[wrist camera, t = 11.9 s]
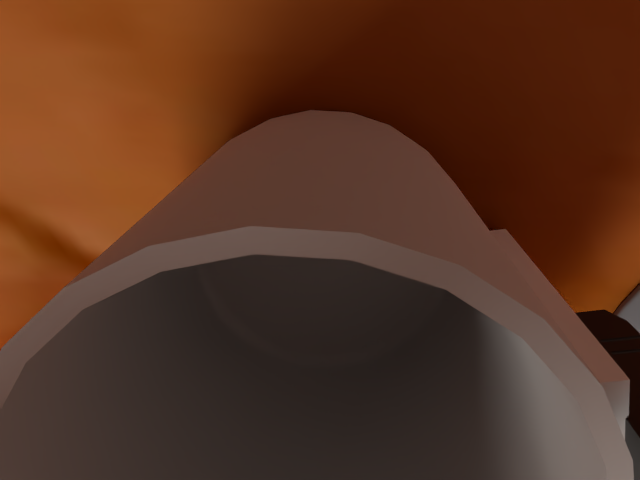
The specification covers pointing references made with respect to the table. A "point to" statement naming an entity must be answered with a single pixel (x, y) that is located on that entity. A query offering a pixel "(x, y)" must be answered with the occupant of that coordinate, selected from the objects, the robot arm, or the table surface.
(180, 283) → the cup
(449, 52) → the table surface
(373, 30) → the table surface
